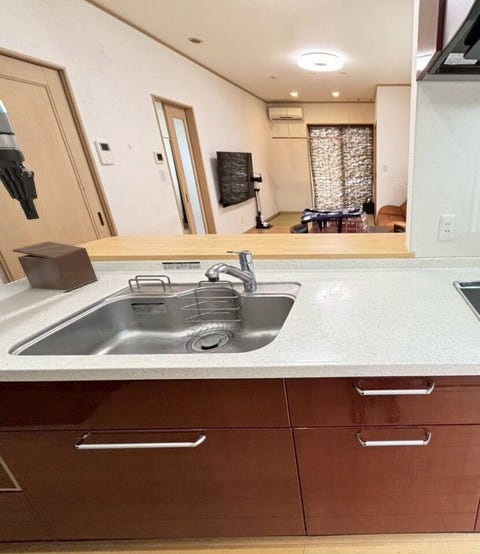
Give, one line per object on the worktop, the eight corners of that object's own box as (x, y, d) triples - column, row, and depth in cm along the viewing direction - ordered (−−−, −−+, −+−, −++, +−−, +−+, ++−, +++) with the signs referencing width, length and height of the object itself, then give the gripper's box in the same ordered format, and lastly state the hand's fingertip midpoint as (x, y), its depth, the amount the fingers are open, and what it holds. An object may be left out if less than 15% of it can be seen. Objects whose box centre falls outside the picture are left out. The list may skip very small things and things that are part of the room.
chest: (32, 290, 113) (17, 257, 108) (64, 278, 124) (52, 248, 119) (68, 292, 112) (54, 259, 107) (97, 280, 122) (86, 250, 117)
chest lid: (13, 251, 108) (12, 249, 107) (48, 243, 118) (48, 241, 118) (54, 259, 107) (53, 257, 106) (86, 250, 117) (85, 248, 117)
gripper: (34, 149, 102) (60, 217, 111) (2, 148, 103) (30, 216, 112) (7, 149, 95) (36, 221, 104) (-28, 148, 96) (5, 220, 105)
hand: (33, 218), depth 108 cm, fingers closed
